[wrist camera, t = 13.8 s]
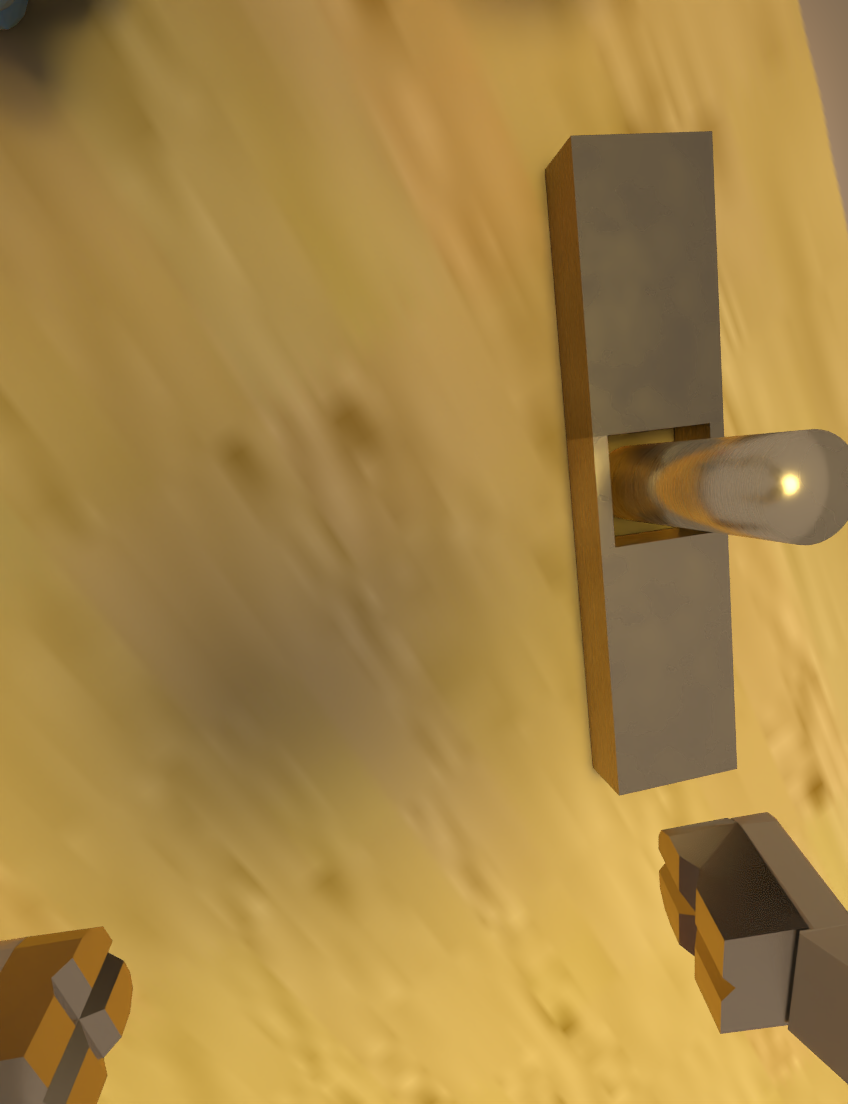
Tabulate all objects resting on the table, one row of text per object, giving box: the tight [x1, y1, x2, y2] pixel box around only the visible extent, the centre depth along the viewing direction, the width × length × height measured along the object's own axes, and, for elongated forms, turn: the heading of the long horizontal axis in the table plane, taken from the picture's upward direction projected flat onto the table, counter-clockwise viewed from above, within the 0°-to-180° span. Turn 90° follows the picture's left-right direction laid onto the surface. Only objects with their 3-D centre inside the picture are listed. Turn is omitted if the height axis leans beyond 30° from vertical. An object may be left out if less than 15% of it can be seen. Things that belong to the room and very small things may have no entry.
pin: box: [609, 429, 848, 545], centre depth 26 cm, size 4×4×12 cm
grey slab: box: [545, 131, 737, 795], centre depth 31 cm, size 32×7×3 cm, turn 7°
